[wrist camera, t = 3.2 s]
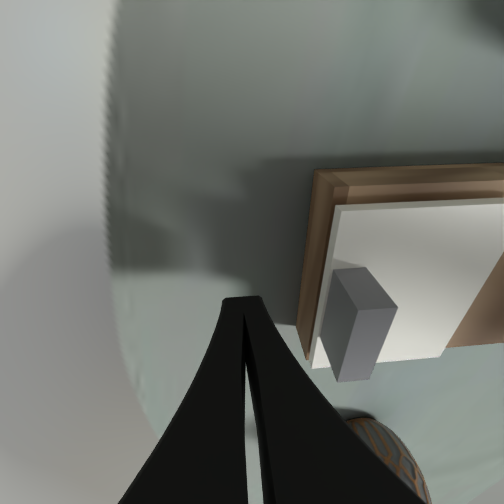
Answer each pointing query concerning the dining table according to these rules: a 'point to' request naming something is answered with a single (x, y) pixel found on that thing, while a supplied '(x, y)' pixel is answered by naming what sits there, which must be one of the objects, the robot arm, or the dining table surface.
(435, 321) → the cover
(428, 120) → the dining table surface
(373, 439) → the vase
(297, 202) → the dining table surface
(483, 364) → the dining table surface
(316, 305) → the wooden tray
